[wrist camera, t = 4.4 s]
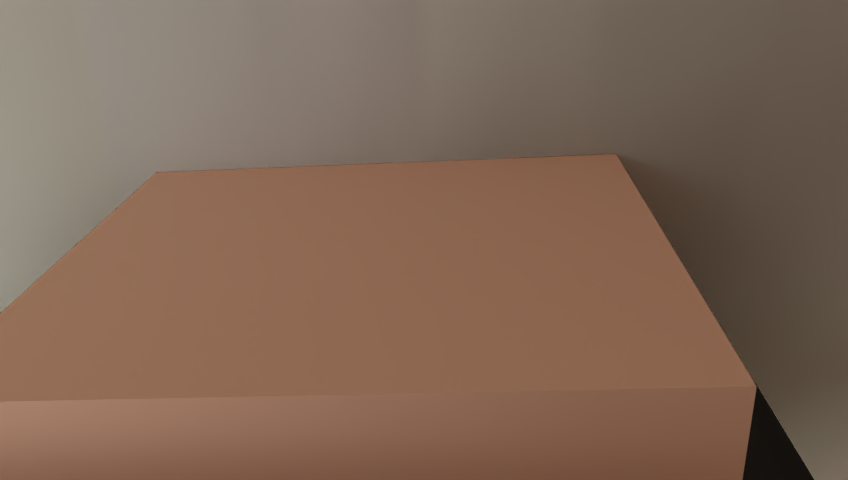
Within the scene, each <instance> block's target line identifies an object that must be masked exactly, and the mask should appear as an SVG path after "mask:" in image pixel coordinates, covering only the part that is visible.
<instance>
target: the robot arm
mask: <svg viewBox="0 0 848 480" xmlns="http://www.w3.org/2000/svg"><path fill="white" fill-rule="evenodd" d="M754 383H755V382H754ZM755 385H756V383H755ZM756 386H757V385H756ZM743 480H814V479H813V477H812V476H811V474H810V472H809V471H808V469H807V467H806V466H805V464H804V462H803V461H802V459H801V457H800V456H799V454H798V453H797V451H796V449H795V448H794V446H793V444H792V443H791V441H790V439H789V438H788V436H787V434H786V433H785V431H784V429H783V428H782V426H781V425H780V423H779V421H778V420H777V418H776V416H775V415H774V413H773V411H772V410H771V408H770V406H769V405H768V403H767V401H766V400H765V398H764V397H763V395H762V393H761V392H760V390H759V388H758V387H756V394H755V401H754V407H753V414H752V420H751V427H750V433H749V440H748V447H747V453H746V460H745V466H744V473H743Z"/></svg>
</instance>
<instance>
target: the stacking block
mask: <svg viewBox="0 0 848 480" xmlns="http://www.w3.org/2000/svg"><path fill="white" fill-rule="evenodd" d="M756 387H757V386H756V385H755V383H754V381H753V380H752V378H751V376H750V375H749V373H748V372H747V370H746V368H745V367H744V365H743V363H742V362H741V360H740V358H739V357H738V355H737V353H736V352H735V350H734V348H733V347H732V345H731V343H730V342H729V340H728V338H727V337H726V335H725V333H724V332H723V330H722V329H721V327H720V325H719V324H718V322H717V320H716V319H715V317H714V315H713V314H712V312H711V310H710V309H709V307H708V305H707V304H706V302H705V300H704V299H703V297H702V295H701V294H700V292H699V291H698V289H697V287H696V286H695V284H694V282H693V281H692V279H691V277H690V276H689V274H688V272H687V271H686V269H685V267H684V266H683V264H682V262H681V261H680V259H679V257H678V256H677V254H676V253H675V251H674V249H673V248H672V246H671V244H670V243H669V241H668V239H667V238H666V236H665V234H664V233H663V231H662V229H661V228H660V226H659V224H658V223H657V221H656V219H655V218H654V216H653V214H652V213H651V211H650V210H649V208H648V206H647V205H646V203H645V201H644V200H643V198H642V196H641V195H640V193H639V191H638V190H637V188H636V186H635V185H634V183H633V181H632V180H631V178H630V176H629V175H628V173H627V172H626V170H625V168H624V167H623V165H622V163H621V162H620V160H619V158H618V157H617V155H616V154H605V155H580V156H554V157H529V158H504V159H479V160H454V161H428V162H403V163H378V164H353V165H328V166H302V167H277V168H252V169H227V170H202V171H176V172H156V173H155V174H154V175H153V176H152V177H151V178H150V179H149V180H147V181H146V182H145V183H144V184H143V185H142V186H141V187H140V188H139V189H137V190H136V191H135V192H134V193H133V194H132V195H131V196H130V197H129V198H127V199H126V200H125V201H124V202H123V203H122V204H121V205H120V206H119V207H117V208H116V209H115V210H114V211H113V212H112V213H111V214H110V215H109V216H108V217H106V218H105V219H104V220H103V221H102V222H101V223H100V224H99V225H98V226H96V227H95V228H94V229H93V230H92V231H91V232H90V233H89V234H88V235H86V236H85V237H84V238H83V239H82V240H81V241H80V242H79V243H78V244H76V245H75V246H74V247H73V248H72V249H71V250H70V251H69V252H68V253H66V254H65V255H64V256H63V257H62V258H61V259H60V260H59V261H58V262H56V263H55V264H54V265H53V266H52V267H51V268H50V269H49V270H48V271H47V272H45V273H44V274H43V275H42V276H41V277H40V278H39V279H38V280H37V281H35V282H34V283H33V284H32V285H31V286H30V287H29V288H28V289H27V290H25V291H24V292H23V293H22V294H21V295H20V296H19V297H18V298H17V299H15V300H14V301H13V302H12V303H11V304H10V305H9V306H8V307H7V308H5V309H4V310H3V311H2V312H1V313H0V480H743V473H744V466H745V460H746V453H747V447H748V440H749V433H750V427H751V420H752V414H753V407H754V401H755V394H756Z"/></svg>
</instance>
